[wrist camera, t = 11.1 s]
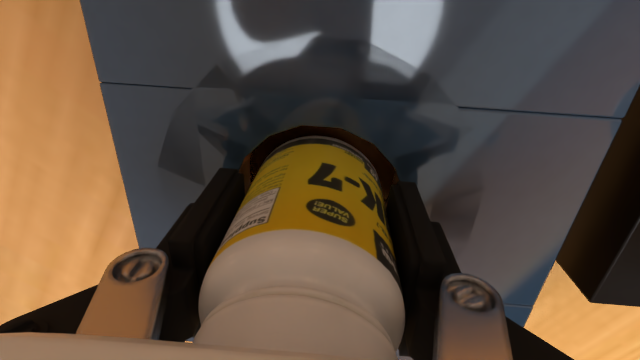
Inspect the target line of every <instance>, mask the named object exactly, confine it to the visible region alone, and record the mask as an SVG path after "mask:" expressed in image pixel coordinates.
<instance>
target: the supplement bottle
mask: <svg viewBox="0 0 640 360" xmlns="http://www.w3.org/2000/svg"><path fill="white" fill-rule="evenodd" d="M198 310H199V317H200V323H201V327H200V329H199V331H198V332H197V334H196V335H195V338H194V340H193V342H192V343H197V344H209V345H221V346H233V347H244V348H256V349H267V350H278V351H290V352H301V353H312V354H323V355H334V356H345V357H356V358H366V359H377V360H398V358H397V355H396V353H395V352H396V351H397V349H398V347H399V345H400V343H401V340H402V336H403V333H404V327H405V307H404V300H403V290H402V287H401V283H400V278H399V274H398V266H397V263H396V258H395V253H394V248H393V243H392V237H391V232H390V228H389V222H388V218H387V213H386V208H385V204H384V198H383V193H382V188H381V184H380V180H379V177H378V174H377V172H376V170H375V168H374V167H373V165H372V164H371V162H370V161H369V160H368V159H367V158H366V157H365V156H364V154H362V153H361V152H360V151H359V150H357V149H356V148H355V147H353V146H351V145H350V144H348V143H346V142H344V141H341V140H339V139H336V138H332V137H328V136H320V135H313V136H304V137H299V138H296V139H293V140H290V141H288V142H286V143H284V144H282V145H281V146H279V147H277V148H276V149H275V150H274V151H273V152H271V153H270V154H269V156H268V157H267V158H266V159H265V160H264V162H263V163H262V165H261V167H260V169H259V170H258V172H257V174H256V176H255V178H254V180H253V182H252V184H251V186H250V188H249V190H248V192H247V194H246V196H245V198H244V200H243V201H242V203H241V205H240V207H239V209H238V211H237V213H236V215H235V217H234V219H233V221H232V223H231V225H230V227H229V229H228V231H227V233H226V235H225V237H224V239H223V241H222V243H221V245H220V246H219V248H218V250H217V252H216V254H215V256H214V258H213V260H212V262H211V264H210V266H209V268H208V270H207V272H206V274H205V277H204V280H203V283H202V286H201V289H200V294H199V304H198Z"/></svg>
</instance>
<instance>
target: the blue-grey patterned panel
mask: <svg viewBox="0 0 640 360" xmlns="http://www.w3.org/2000/svg"><path fill="white" fill-rule="evenodd" d="M80 4H81V8H82V12H83V16H84V20H85V24H86V29H87V33H88V37H89V41H90V45H91V49H92V54H93V58H94V62H95V66H96V70H97V74H98V78H99V81H100V82H102V83H100V87H101V92H102V96H103V100H104V104H105V108H106V112H107V116H108V121H109V125H110V129H111V133H112V137H113V141H114V146H115V150H116V154H117V158H118V162H119V166H120V170H121V175H122V179H123V183H124V187H125V191H126V195H127V200H128V204H129V208H130V212H131V216H132V220H133V224H134V229H135V233H136V237H137V241H138V245H139V249H140V248H156V247H157V246H158V245H159V243H160V242H161V241H162V239H163V238H164V237H165V235H166V234H167V233H168V231H169V230H170V229H171V227H172V226H173V225H174V223H175V222H176V221H177V219H178V218H179V217H180V215H181V214H182V213H183V211H184V210H185V209H186V207H187V206H188V205H189V204H190V203H195V201H196V200H197V199H198V197H199V196H200V195H201V193H202V192H203V190H204V189H205V188H206V186H207V185H208V184H209V182H210V181H211V179H212V178H213V177H214V175H215V174H216V172H217V171H218V170H219V168H231V169H237V170H238V172H239V173H242V174H243V175H244V185H245V196H246V194H247V192H248V190H249V188H250V186H251V181H250V159H249V158H250V156H251V153H252V151H253V150H254V149H255V148H257V147H258V146H259V145H260V144H261V143H262V142H263V141H264V140H266V139H267V138H268V137H269V136H271V135H274V134H277V133H280V132H284V131H287V130H290V129H293V128H296V127H299V126H302V125H303V126H317V127H331V128H341V129H343V130H346V131H348V132H350V133H352V134H354V135H356V136H358V137H360V138H362V139H364V140H366V141H368V142H370V143H372V144H374V145H375V146H376V147H377V149H378V150H379V151H380V152H381V153H382V154H383V155H384V157H385V158H386V159H387V160H388V161H389V162H390V164H391V165H392V166H393V167H394V168H395V171H394V177H393V182H392V185H396V184H397V182H398V181H404V182H415V183H416V185H417V188H418V191H419V193H420V196H421V198H422V201H423V203H424V206H425V208H426V211H427V214H428V216H429V219H430V221H432V222H439V223H440V225H441V227H442V229H443V231H444V234H445V236H446V238H447V241H448V243H449V245H450V248H451V250H452V252H453V255H454V257H455V259H456V262H457V264H458V266H459V269H460V271H461V273H464V274H470V275H473V276H476V277H479V278H481V279H482V280H484V281H486V282H488V283H489V284H490V285H491V286H493V287H494V288H495V289H496V290H497V292H498V293H499V294H500V296H501V298H502V301H503V305H504V311H505V316H506V317H507V318H509V319H511V320H512V321H514V322H515V323H517V324H518V325H520V326H522V327H524V325H525V323H526V321H527V319H528V317H529V315H530V313H531V311H532V309H533V305H534V304H535V302H536V299H537V297H538V295H539V293H540V291H541V289H542V287H543V285H544V283H545V281H546V279H547V277H548V275H549V272H550V270H551V268H552V266H553V264H554V262H555V260H556V258H557V256H558V254H559V252H560V250H561V248H562V245H563V243H564V241H565V239H566V237H567V235H568V233H569V231H570V229H571V227H572V225H573V223H574V221H575V218H576V216H577V214H578V212H579V210H580V208H581V206H582V204H583V202H584V200H585V198H586V196H587V194H588V191H589V189H590V187H591V185H592V183H593V181H594V179H595V177H596V175H597V173H598V171H599V169H600V167H601V164H602V162H603V160H604V158H605V156H606V154H607V152H608V150H609V148H610V146H611V144H612V142H613V140H614V137H615V135H616V133H617V131H618V129H619V127H620V125H621V123H622V119H620V118H624V117H625V115H626V113H627V111H628V109H629V107H630V105H631V103H632V101H633V99H634V97H635V95H636V93H637V91H638V88H639V86H640V0H80ZM388 198H389V197H388ZM388 198H387V200H386V201H385V203H384V204H385V208H386V210H387V204H388ZM193 340H194V338H192V337H191V338H189V339H188V340H186V341H191V342H193ZM395 353H396V355H397V358H398V360H413V359H412V358H411V357H407V356H399V350H398V349H397V351H396V352H395Z"/></svg>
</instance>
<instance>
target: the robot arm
mask: <svg viewBox="0 0 640 360" xmlns="http://www.w3.org/2000/svg"><path fill="white" fill-rule="evenodd" d="M244 198H245V185H244V175H243V174H242V173H239V172H238V170H237V169H231V168H219V170H218V171H217V172H216V174H215V175H214V177H213V178H212V179H211V181H210V182H209V184H208V185H207V186H206V188H205V189H204V190H203V192H202V193H201V195H200V196H199V197H198V199H197V200H196V201H195V203H190V204H189V205H188V206H187V207H186V209H185V210H184V211H183V213H182V214H181V215H180V217H179V218H178V219H177V221H176V222H175V223H174V225H173V226H172V227H171V229H170V230H169V231H168V233H167V234H166V235H165V237H164V238H163V239H162V241H161V242H160V243H159V245H158V246H157V247H156V248H140V249H134V250H131V251H129V252H126V253H124V254H122V255H120V256H118V257H117V258H115V259H114V260H113V261H112V262H111V263H110V264H109V265H108V267H107V268H106V270H105V272H104V274H103V276H102V278H101V281H100V283H99V284H98V285H96V286H93V287H91V288H88V289H86V290H84V291H81V292H79V293H76V294H74V295H71V296H69V297H66V298H64V299H61V300H59V301H56V302H54V303H51V304H49V305H47V306H44V307H42V308H39V309H37V310H34V311H32V312H29V313H27V314H24V315H22V316H19V317H17V318H14V319H12V320H10V321H8V322H6V323H4V324H2V325H1V326H0V360H377V359H366V358H356V357H345V356H334V355H323V354H312V353H301V352H290V351H278V350H267V349H256V348H244V347H233V346H221V345H209V344H197V343H185V341H186V340H188V339H189V338H191V337H192V338H195V335H196V334H197V332H198V331H199V329H200V327H201V323H200V317H199V310H198V304H199V294H200V289H201V286H202V283H203V280H204V277H205V274H206V272H207V270H208V268H209V266H210V264H211V262H212V260H213V258H214V256H215V254H216V252H217V250H218V248H219V246H220V245H221V243H222V241H223V239H224V237H225V235H226V233H227V231H228V229H229V227H230V225H231V223H232V221H233V219H234V217H235V215H236V213H237V211H238V209H239V207H240V205H241V203H242V201H243V200H244ZM386 213H387V218H388V222H389V228H390V232H391V237H392V243H393V248H394V253H395V258H396V263H397V266H398V274H399V278H400V283H401V287H402V290H403V300H404V307H405V327H404V333H403V336H402V340H401V343H400V345H399V347H398V350H399V356H407V357H411V358H412V359H413V360H574V359H572V358H571V357H569V356H567V355H566V354H564V353H563V352H561V351H560V350H558V349H556V348H555V347H553V346H552V345H550V344H548V343H547V342H545V341H544V340H542V339H541V338H539V337H537V336H536V335H534V334H533V333H531V332H529V331H528V330H526V329H525V328H523V327H522V326H520V325H518V324H517V323H515V322H514V321H512V320H511V319H509V318H507V317H506V316H505V311H504V305H503V301H502V298H501V296H500V294H499V293H498V292H497V290H496V289H495V288H494V287H493V286H491V285H490V284H489V283H488V282H486V281H484V280H482V279H481V278H479V277H476V276H473V275H470V274H464V273H461V271H460V269H459V266H458V264H457V262H456V259H455V257H454V255H453V252H452V250H451V248H450V245H449V243H448V241H447V238H446V236H445V234H444V231H443V229H442V227H441V225H440V223H439V222H432V221H430V219H429V216H428V214H427V211H426V208H425V206H424V203H423V201H422V198H421V196H420V193H419V191H418V188H417V185H416V183H415V182H404V181H398V182H397V184H396V185H391V187H390V192H389V198H388V204H387V210H386Z"/></svg>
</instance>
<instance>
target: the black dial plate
mask: <svg viewBox="0 0 640 360" xmlns="http://www.w3.org/2000/svg"><path fill="white" fill-rule="evenodd" d="M620 119H622V123H621V125H620V127H619V129H618V131H617V133H616V135H615V137H614V140H613V142H612V144H611V146H610V148H609V150H608V152H607V154H606V156H605V158H604V160H603V162H602V164H601V167H600V169H599V171H598V173H597V175H596V177H595V179H594V181H593V183H592V185H591V187H590V189H589V191H588V194H587V196H586V198H585V200H584V202H583V204H582V206H581V208H580V210H579V212H578V214H577V216H576V218H575V221H574V223H573V225H572V227H571V229H570V231H569V233H568V235H567V237H566V239H565V241H564V243H563V245H562V248H561V250H560V252H559V254H558V256H557V258H556V261H557V263H558V264H559V265H560V266H561V267H562V269H563V270H564V271H565V272H566V274H567V275H568V276H569V277H570V279H571V280H572V281H573V282H574V283H575V285H576V286H577V287H578V288H579V290H580V291H581V292H582V293H583V295H584V296H585V297H586V298H587V299H588V301H589V302H591V303H602V304H614V305H625V306H637V307H640V86H639V88H638V91H637V93H636V95H635V97H634V99H633V101H632V103H631V105H630V107H629V109H628V111H627V113H626V115H625V117H624V118H620Z"/></svg>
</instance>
